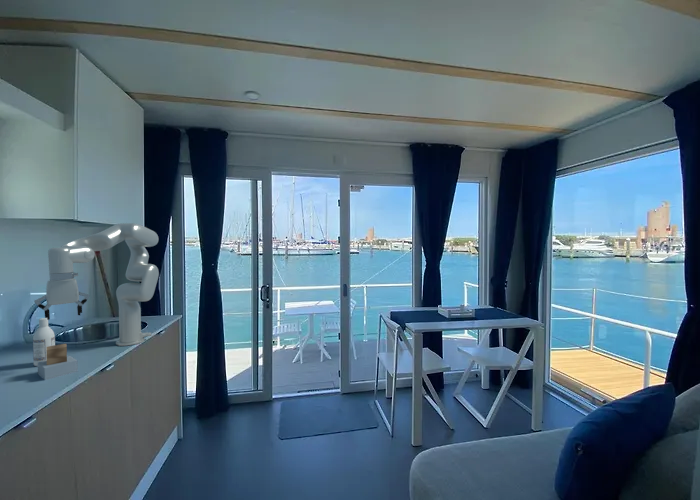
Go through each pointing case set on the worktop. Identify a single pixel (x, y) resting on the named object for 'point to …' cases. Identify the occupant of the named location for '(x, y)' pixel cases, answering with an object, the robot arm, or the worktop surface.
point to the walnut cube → (56, 354)
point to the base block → (57, 368)
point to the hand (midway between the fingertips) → (64, 317)
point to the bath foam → (42, 341)
